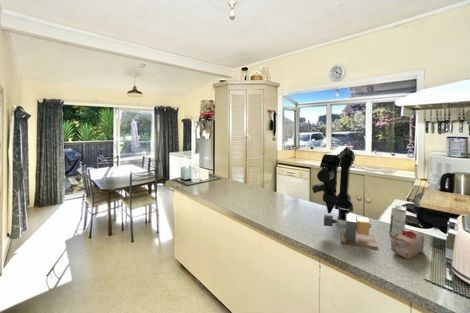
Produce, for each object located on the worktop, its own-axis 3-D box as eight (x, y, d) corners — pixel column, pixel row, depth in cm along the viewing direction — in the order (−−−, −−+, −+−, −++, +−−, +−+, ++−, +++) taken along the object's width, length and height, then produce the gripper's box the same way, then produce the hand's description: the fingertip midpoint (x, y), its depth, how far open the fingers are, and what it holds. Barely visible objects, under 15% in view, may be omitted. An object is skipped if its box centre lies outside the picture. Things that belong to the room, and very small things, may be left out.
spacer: (355, 228, 117) (356, 216, 117) (367, 229, 116) (367, 218, 115) (356, 233, 112) (357, 221, 111) (368, 235, 110) (369, 222, 109)
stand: (340, 232, 123) (341, 212, 122) (373, 237, 118) (375, 216, 116) (341, 243, 112) (342, 221, 111) (378, 249, 107) (379, 225, 105)
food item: (409, 262, 96) (411, 239, 95) (388, 253, 103) (390, 231, 102) (425, 252, 103) (427, 230, 102) (404, 244, 110) (406, 224, 109)
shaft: (324, 222, 122) (324, 214, 121) (369, 228, 114) (370, 220, 114) (323, 225, 118) (324, 217, 118) (371, 231, 110) (371, 223, 110)
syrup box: (390, 231, 124) (392, 204, 122) (404, 234, 120) (406, 206, 118) (389, 235, 119) (391, 207, 118) (403, 238, 116) (405, 210, 114)
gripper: (314, 174, 128) (313, 203, 130) (311, 181, 111) (310, 214, 112) (336, 176, 124) (335, 205, 126) (338, 183, 107) (336, 217, 108)
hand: (329, 210), depth 118 cm, fingers open, 9 cm apart
